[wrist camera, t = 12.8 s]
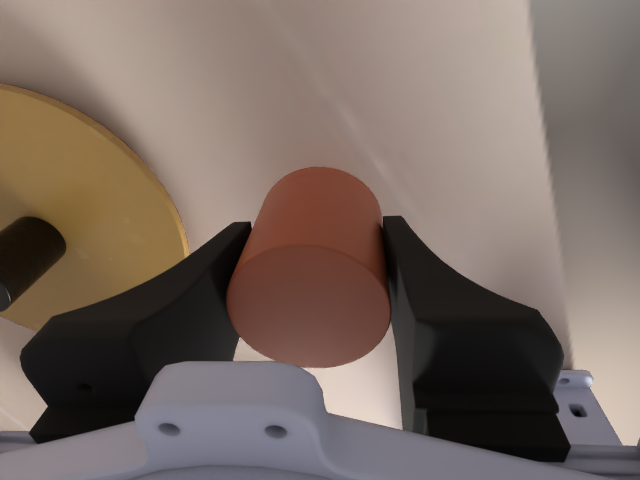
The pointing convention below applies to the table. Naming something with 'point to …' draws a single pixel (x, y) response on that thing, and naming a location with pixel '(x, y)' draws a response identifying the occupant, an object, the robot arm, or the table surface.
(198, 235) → the table surface
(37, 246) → the tin lid
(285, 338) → the candle
